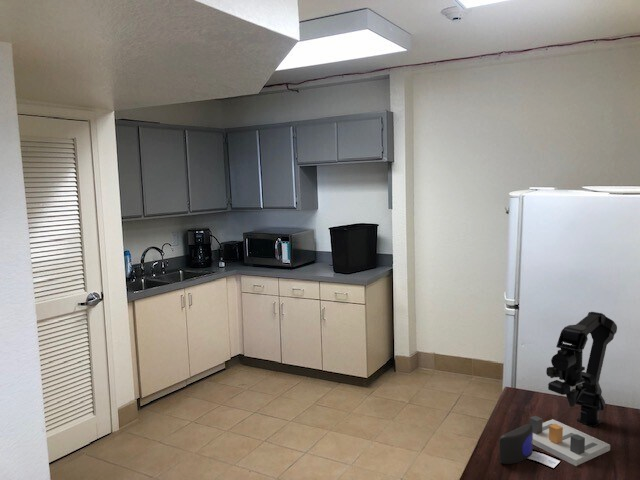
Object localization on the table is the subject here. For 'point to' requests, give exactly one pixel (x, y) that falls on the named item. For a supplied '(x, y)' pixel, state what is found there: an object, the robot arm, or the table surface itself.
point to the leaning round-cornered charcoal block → (516, 445)
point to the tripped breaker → (555, 433)
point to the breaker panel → (567, 442)
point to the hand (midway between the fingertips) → (571, 406)
